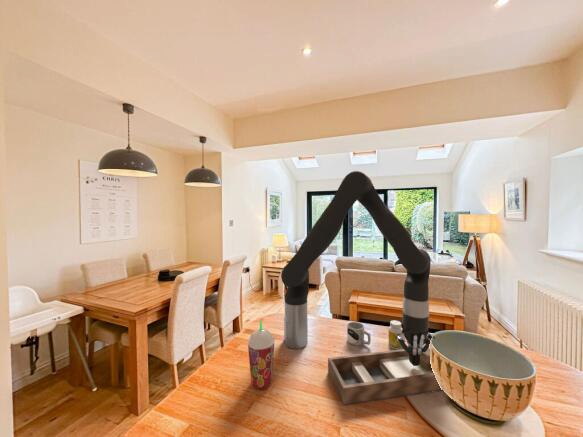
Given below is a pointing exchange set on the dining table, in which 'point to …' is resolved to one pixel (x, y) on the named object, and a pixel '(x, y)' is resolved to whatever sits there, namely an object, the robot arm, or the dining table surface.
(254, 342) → the smoothie
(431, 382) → the wooden compartment tray
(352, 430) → the dining table surface
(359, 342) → the mug
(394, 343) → the supplement bottle
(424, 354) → the walnut block
